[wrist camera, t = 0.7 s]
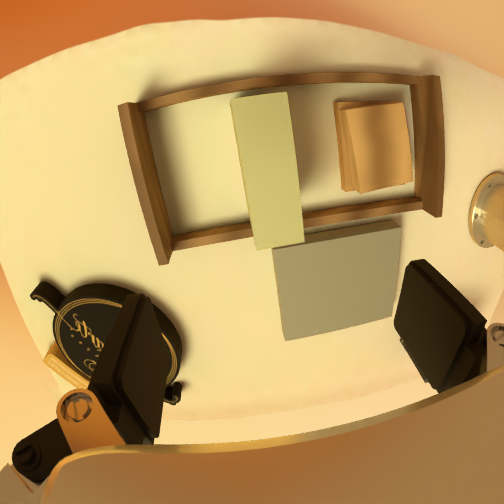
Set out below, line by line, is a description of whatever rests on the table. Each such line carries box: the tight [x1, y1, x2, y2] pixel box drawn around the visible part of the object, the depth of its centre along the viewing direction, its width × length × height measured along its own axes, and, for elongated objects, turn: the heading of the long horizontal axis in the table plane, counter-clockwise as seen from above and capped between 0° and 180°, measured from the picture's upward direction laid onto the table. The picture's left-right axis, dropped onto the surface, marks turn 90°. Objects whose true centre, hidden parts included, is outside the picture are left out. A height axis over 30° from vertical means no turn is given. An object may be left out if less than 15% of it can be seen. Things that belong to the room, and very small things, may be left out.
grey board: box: [272, 220, 402, 341], centre depth 37 cm, size 16×14×2 cm
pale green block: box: [230, 92, 305, 250], centre depth 26 cm, size 4×12×10 cm, turn 9°
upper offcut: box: [339, 102, 413, 194], centre depth 28 cm, size 7×9×2 cm
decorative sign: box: [30, 282, 182, 405], centre depth 39 cm, size 29×3×25 cm
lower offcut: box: [333, 101, 405, 192], centre depth 30 cm, size 8×10×2 cm
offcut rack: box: [118, 72, 445, 266], centre depth 28 cm, size 32×16×5 cm, turn 99°
